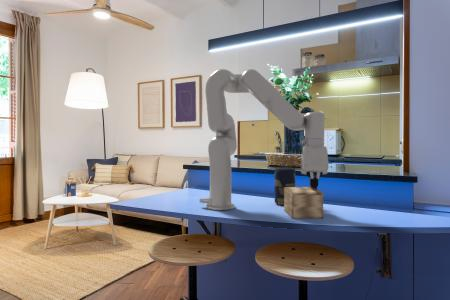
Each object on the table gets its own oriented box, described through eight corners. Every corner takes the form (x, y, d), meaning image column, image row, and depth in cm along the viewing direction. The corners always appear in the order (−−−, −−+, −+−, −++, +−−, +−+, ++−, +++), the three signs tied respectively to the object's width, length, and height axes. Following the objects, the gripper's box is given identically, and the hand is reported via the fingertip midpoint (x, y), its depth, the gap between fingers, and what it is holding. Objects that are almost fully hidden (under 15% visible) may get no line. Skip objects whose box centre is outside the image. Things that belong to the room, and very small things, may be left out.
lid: (292, 194, 124) (292, 192, 124) (284, 189, 138) (284, 187, 138) (323, 194, 124) (323, 192, 124) (312, 188, 138) (312, 186, 138)
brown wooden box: (291, 218, 124) (292, 195, 124) (284, 210, 138) (284, 189, 138) (322, 218, 124) (323, 194, 124) (312, 210, 138) (312, 189, 138)
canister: (295, 206, 145) (295, 166, 145) (273, 205, 147) (274, 166, 147) (294, 202, 155) (295, 165, 154) (274, 202, 157) (275, 164, 156)
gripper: (298, 143, 126) (297, 189, 127) (336, 143, 127) (335, 189, 127) (293, 142, 134) (293, 187, 134) (329, 142, 134) (328, 187, 135)
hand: (313, 188), depth 131 cm, fingers closed
